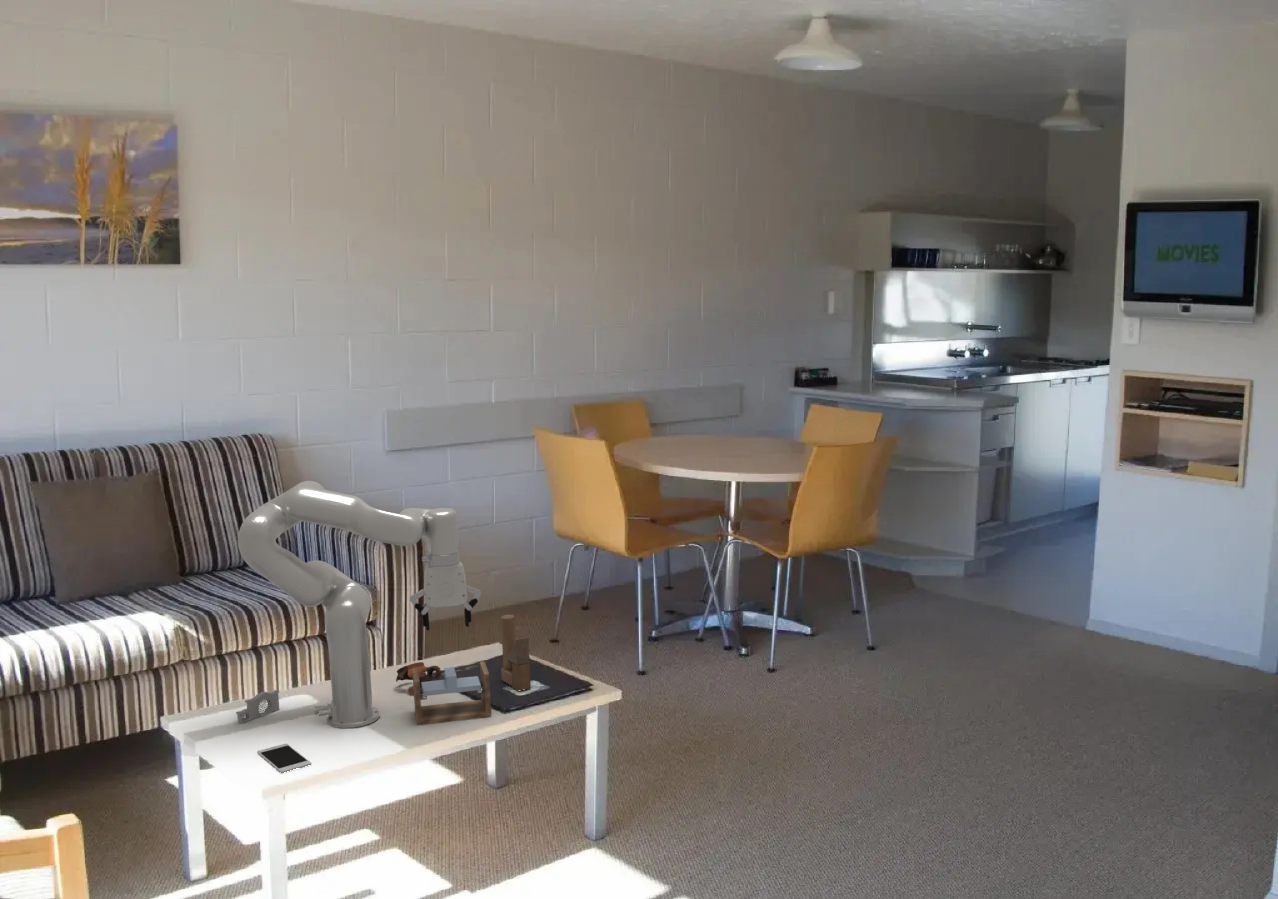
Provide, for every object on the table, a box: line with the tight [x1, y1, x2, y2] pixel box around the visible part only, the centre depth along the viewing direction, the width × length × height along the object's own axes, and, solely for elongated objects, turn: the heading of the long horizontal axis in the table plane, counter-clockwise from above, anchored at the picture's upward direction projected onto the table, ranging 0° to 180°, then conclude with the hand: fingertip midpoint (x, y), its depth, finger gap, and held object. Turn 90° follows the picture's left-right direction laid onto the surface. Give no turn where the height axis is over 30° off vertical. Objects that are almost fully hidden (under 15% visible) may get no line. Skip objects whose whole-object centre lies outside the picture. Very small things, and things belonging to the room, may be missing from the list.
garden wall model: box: [235, 688, 281, 724], centre depth 305 cm, size 12×2×6 cm, turn 142°
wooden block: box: [500, 614, 531, 691], centre depth 321 cm, size 4×11×18 cm, turn 31°
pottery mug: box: [395, 661, 443, 696], centre depth 322 cm, size 12×9×8 cm
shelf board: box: [421, 666, 481, 697], centre depth 301 cm, size 14×7×4 cm, turn 104°
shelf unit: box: [412, 660, 492, 726], centre depth 302 cm, size 18×10×11 cm, turn 103°
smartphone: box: [257, 743, 312, 774], centre depth 278 cm, size 7×16×1 cm, turn 37°
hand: (447, 627), depth 299 cm, fingers open, 9 cm apart
